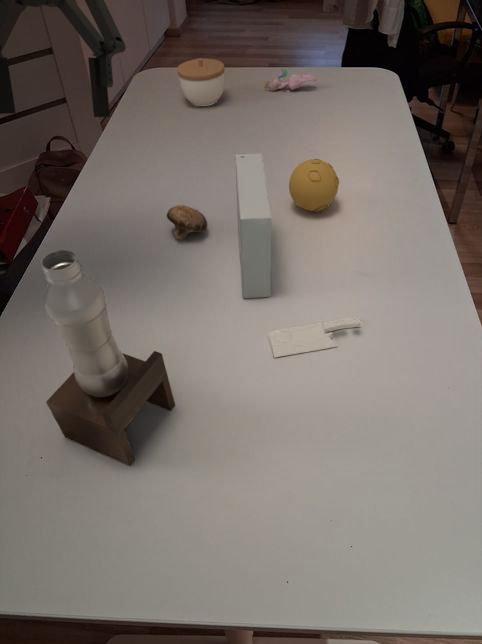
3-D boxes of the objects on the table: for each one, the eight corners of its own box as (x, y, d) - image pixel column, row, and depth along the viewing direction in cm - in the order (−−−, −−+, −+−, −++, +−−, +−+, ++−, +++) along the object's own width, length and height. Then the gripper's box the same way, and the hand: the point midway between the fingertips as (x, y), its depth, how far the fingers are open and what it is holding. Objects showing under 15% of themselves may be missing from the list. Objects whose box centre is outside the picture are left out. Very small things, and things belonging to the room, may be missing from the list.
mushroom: (166, 237, 100) (175, 203, 98) (158, 230, 107) (166, 199, 105) (206, 248, 103) (215, 216, 102) (195, 241, 110) (204, 211, 109)
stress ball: (295, 223, 107) (295, 177, 100) (284, 198, 114) (283, 153, 106) (343, 216, 108) (347, 170, 101) (329, 191, 115) (332, 146, 107)
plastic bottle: (101, 359, 73) (54, 235, 58) (142, 375, 70) (104, 250, 56) (70, 393, 69) (11, 269, 54) (113, 411, 66) (63, 287, 52)
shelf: (64, 437, 74) (37, 386, 66) (113, 381, 80) (93, 329, 72) (130, 466, 70) (109, 416, 62) (175, 405, 77) (162, 353, 69)
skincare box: (274, 297, 92) (272, 217, 80) (242, 300, 92) (235, 220, 80) (265, 227, 106) (262, 151, 95) (237, 229, 106) (231, 153, 95)
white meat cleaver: (367, 341, 84) (368, 336, 83) (273, 358, 82) (273, 353, 82) (357, 319, 87) (358, 314, 86) (267, 334, 86) (267, 330, 85)
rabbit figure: (264, 98, 152) (317, 90, 149) (260, 76, 148) (314, 67, 145) (267, 89, 157) (318, 81, 153) (263, 68, 152) (315, 59, 149)
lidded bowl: (172, 102, 150) (166, 59, 142) (208, 89, 155) (203, 47, 147) (200, 115, 143) (195, 71, 135) (236, 101, 149) (233, 58, 141)
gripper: (145, -86, 61) (156, 117, 70) (-46, -79, 66) (-13, 111, 75) (114, -109, 54) (130, 119, 63) (-96, -99, 59) (-52, 112, 68)
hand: (53, 115), depth 69 cm, fingers open, 13 cm apart
